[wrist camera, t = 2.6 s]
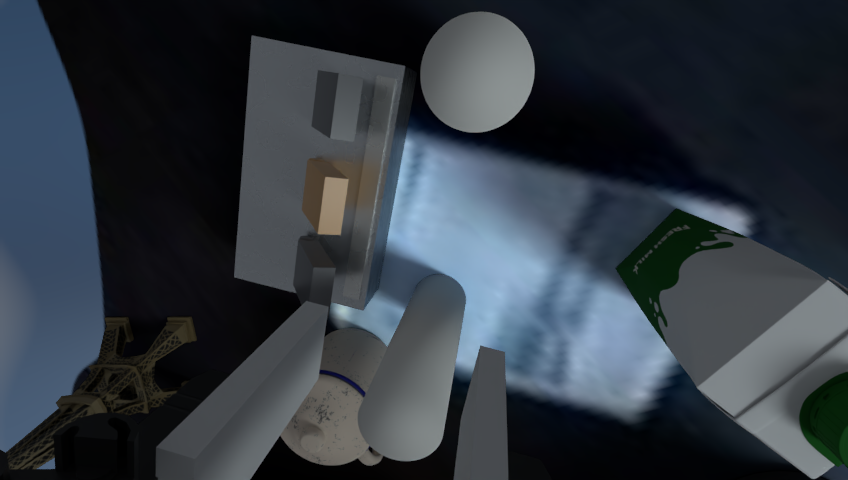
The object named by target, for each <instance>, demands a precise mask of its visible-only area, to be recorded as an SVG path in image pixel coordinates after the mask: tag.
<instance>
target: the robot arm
mask: <svg viewBox="0 0 848 480" xmlns="http://www.w3.org/2000/svg"><path fill="white" fill-rule="evenodd" d="M328 308H329V307H328V306H324V305H320V304H316V303H312V302H308V301H306V302H305V303H304V304H303V305H302V306H301V307H299V308H298V309H297V310H296V311H295V312H294V313H293V314H292V315H291V316H290V317H289V318H288V319H287V320H286V321H285V322H284V323H283V324H282V325H281V326H280V327H279V328H278V329H277V330H276V331H275V332H274V333H273V334H272V335H271V336H270V337H269V338H268V339H267V340H266V341H265V342H264V343H263V344H262V345H261V346H259V347H258V348H257V349H256V350H255V351H254V352H253V353H252V354H251V355H250V356H249V357H248V358H247V359H246V360H245V361H244V362H243V363H242V364H241V365H240V366H239V367H238V368H237V369H236V370H235V371H234V372H233V373H232V374H227V373H223V372H220V371H216V370H213V369H212V370H209V371H207V372H205V373H203V374H201V375H198V376H196V377H194V378H192V379H191V380H189V381H188V382H187V383H186V384H185V385H184V386H182V387H181V388H180V389H179V390H178V391H177V392H176V394H175V395H174V394H173V395H172V396H171V397H170V398H168V399H167V400H166V401H165V402H164V404H163V405H162V406H161V405H160V406H159V407H158V408H157V409H156V410H155V411H153V412H152V413H151V414H150V415H149V416H148V417H146V418H145V419H144V420H143V421H142V422H141V423H140V424H138V425H137V422H136V421H135V420H133V419H132V418H131V417H129V416H128V415H124V414H120V413H116V412H113V413H97V414H93V415H89V416H85V417H81V418H79V419H77V420H75V421H73V422H70V423H68V424H66V425H65V426H63V427H62V428H61V429H60V430H58V431H57V432H56V433H54V434H53V440H54V455H55V469H9V463H8V459H7V455H6V453H5V452H3V451H1V450H0V480H250V479H251V478H252V476H253V475H254V473H255V472H256V470H257V469H258V467H259V466H260V464H261V463H262V461H263V460H264V458H265V457H266V455H267V454H268V452H269V451H270V450H271V448H272V447H273V445H274V444H275V442H276V441H277V439H278V438H279V436H280V435H281V433H282V432H283V430H284V429H285V427H286V426H287V424H288V423H289V421H290V420H291V419H292V417H293V416H294V414H295V413H296V411H297V410H298V408H299V407H300V405H301V404H302V402H303V401H304V399H305V398H306V396H307V395H308V393H309V392H310V391H311V389H312V388H313V386H314V385H315V383H316V382H317V380H318V377H319V370H320V364H321V357H322V350H323V343H324V336H325V329H326V322H327V315H328ZM454 480H552V478H551V477H550V475H549V473H548V471H547V470H546V468H545V466H544V464H543V463H542V461H541V460H540V459H537V458H533V457H530V456H526V455H522V454H519V453H515V452H512V451H508V450H507V415H506V379H505V352H503V351H499V350H495V349H491V348H487V347H483V346H480V349H479V353H478V357H477V360H476V364H475V368H474V372H473V375H472V379H471V383H470V387H469V390H468V394H467V398H466V402H465V406H464V409H463V413H462V417H461V423H460V431H459V440H458V448H457V456H456V464H455V473H454ZM737 480H826V479H823V478H821V477H818V478H816V479H811V478H810V477H808V476H807V475H806V474H804V473H801V472H793V471H771V472H763V473H757V474H752V475H749V476H745V477H742V478H740V479H737Z"/></svg>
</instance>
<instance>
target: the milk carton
mask: <svg viewBox="0 0 848 480" xmlns="http://www.w3.org/2000/svg"><path fill="white" fill-rule="evenodd" d="M616 270H617V272H618V273H619V275H620V276H621V278H622V280H623V281H624V283H625V284H626V286H627V288H628V289H629V291H630V292H631V294H632V296H633V297H634V299H635V300H636V302H637V303H638V305H639V307H640V308H641V310H642V311H643V312H644V314H645V315H646V317H647V318H648V320H649V321H650V323H651V324H652V326H653V327H654V328H655V330H656V331H657V333H658V334H659V335H660V337H661V338H662V339H663V341H664V342H665V344H666V345H667V346H668V348H669V349H670V350H671V352H672V353H673V355H674V356H675V357H676V359H677V360H678V361H679V363H680V364H681V366H682V367H683V368H684V369H685V371H686V372H687V373H688V374H689V376H690V377H691V378H692V380H693V382H694V383H695V385H696V387H697V388H698V389H699V390H700V391H701V392H702V393H703V395H704V396H705V397H706V398H707V399H709V400H710V401H711V402H712V403H713V404H714V405H715V406H716V407H717V408H718V409H720V410H721V411H722V412H723V413H724V414H726V415H727V416H728V417H729V418H731V419H732V420H733V421H735V422H736V423H737V424H739V425H740V426H741V427H743V428H744V429H746V430H747V431H749V432H750V433H751V434H753V435H754V436H755V437H757V438H758V439H759V440H760V441H762V442H763V443H764V444H766V445H767V446H768V447H770V448H771V449H772V450H774V451H775V452H776V453H778V454H779V455H780V456H782V457H783V458H784V459H786V460H787V461H788V462H790V463H791V464H792V465H794V466H795V467H796V468H798V469H799V470H800V471H802V472H803V473H804V474H806V475H807V476H808V477H810V478H811V479H816V478H818V477H819V476H821V475H822V474H824V473H825V472H826V471H828V470H829V469H830V468H831V467H833V466H834V465H836V466H837V467H839V466H840V465H842V464H844V465H845V466H846V467H847V468H848V295H846V294H845V293H844V292H843V291H841V290H840V289H839V288H838V287H836V286H835V285H834V284H833V283H831V282H830V281H829V280H826V279H824V278H823V277H822V276H820V275H819V274H817V273H816V272H814V271H812V270H811V269H809V268H807V267H805V266H803V265H802V264H800V263H798V262H796V261H794V260H792V259H790V258H788V257H786V256H783V255H781V254H779V253H777V252H775V251H773V250H771V249H769V248H767V247H765V246H763V245H761V244H759V243H757V242H755V241H753V240H751V239H749V238H747V237H745V236H743V235H741V234H738V233H736V232H734V231H731V230H729V229H727V228H724V227H722V226H719V225H717V224H714V223H712V222H709V221H707V220H704V219H702V218H699V217H697V216H694V215H691V214H689V213H686V212H684V211H681V210H679V209H675V210H674V211H673V212H672V213H671V214H670V215H669V216H668V217H667V218H666V219H665V220H664V221H663V222H662V223H661V224H660V225H659V226H658V227H657V228H656V229H655V230H654V231H653V232H652V233H651V234H650V235H649V236H648V237H647V238H646V239H645V240H644V241H643V242H642V243H641V244H640V245H639V246H638V247H637V248H636V249H635V250H634V251H633V252H632V253H631V254H630V255H629V256H628V257H627V258H626V259H625V260H624V261H623V262H622V263H621V264H620V265H619V266H618V267H617V268H616ZM828 278H829V279H830V280H831V281H833V282H834V283H835V284H836V285H837V286H839V287H840V288H841V289H842V290H844V291H845V292H846V293H847V294H848V289H847V288H845V287H844V286H843V285H841V284H840V283H838V282H837V281H835V280H834V279H832V278H830V277H828Z"/></svg>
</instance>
